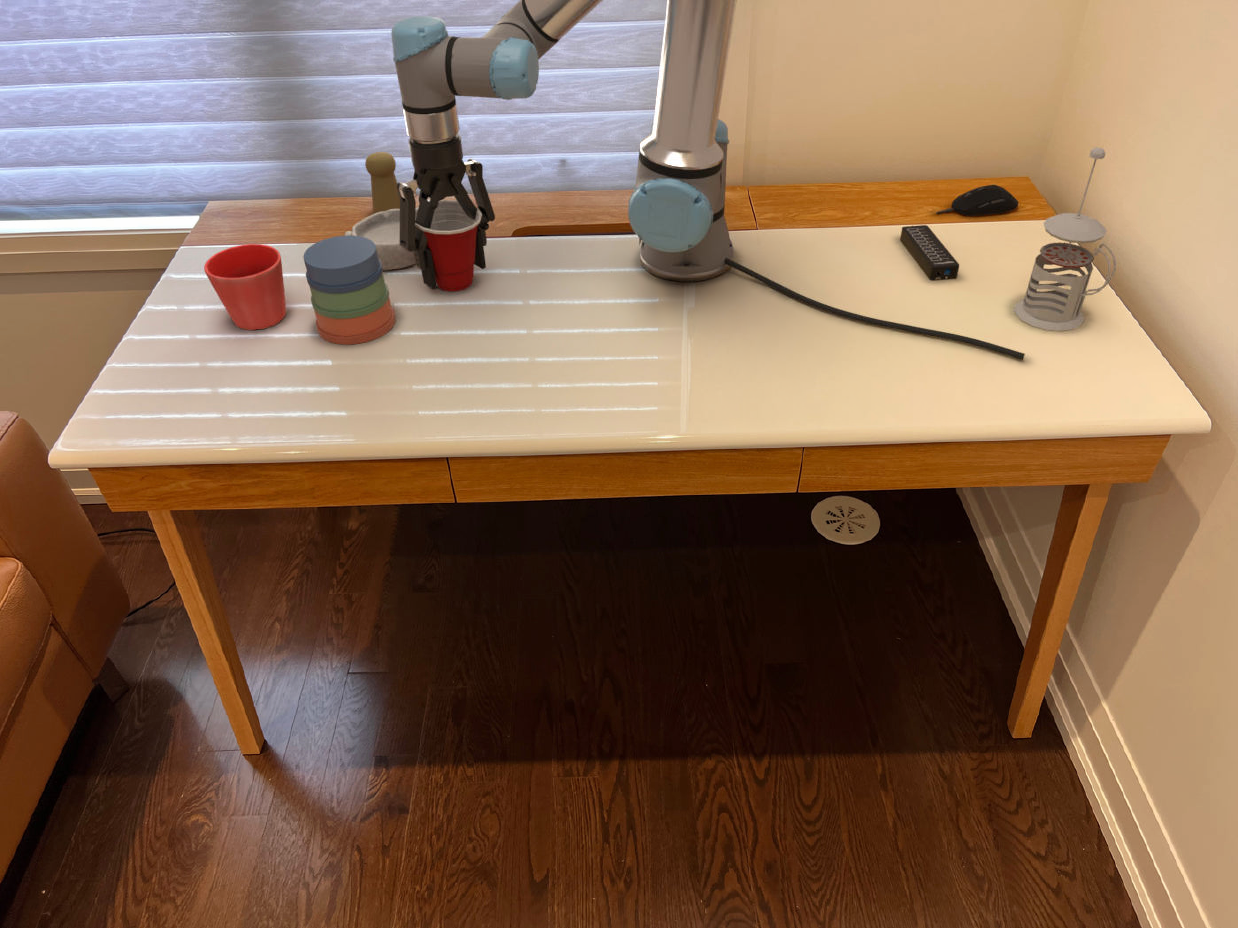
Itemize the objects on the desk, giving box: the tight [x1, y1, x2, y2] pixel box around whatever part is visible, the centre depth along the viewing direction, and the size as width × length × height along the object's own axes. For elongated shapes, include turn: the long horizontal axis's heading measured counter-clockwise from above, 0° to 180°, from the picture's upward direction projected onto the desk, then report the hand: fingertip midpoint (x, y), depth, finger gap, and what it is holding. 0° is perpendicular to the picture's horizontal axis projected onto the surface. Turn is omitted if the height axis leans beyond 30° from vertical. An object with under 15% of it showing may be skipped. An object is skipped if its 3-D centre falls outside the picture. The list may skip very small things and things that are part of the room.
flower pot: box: [203, 243, 287, 331], centre depth 142 cm, size 11×11×10 cm
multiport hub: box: [899, 224, 960, 281], centre depth 154 cm, size 4×14×2 cm, turn 6°
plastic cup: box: [415, 199, 482, 292], centre depth 148 cm, size 11×11×12 cm
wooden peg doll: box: [364, 151, 400, 215], centre depth 169 cm, size 6×6×11 cm
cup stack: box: [303, 235, 397, 345], centre depth 139 cm, size 12×12×12 cm
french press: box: [1013, 146, 1117, 332], centre depth 132 cm, size 10×12×25 cm
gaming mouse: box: [936, 184, 1019, 217], centre depth 166 cm, size 6×15×4 cm, turn 101°
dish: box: [344, 209, 416, 271], centre depth 159 cm, size 14×14×5 cm
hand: (455, 275), depth 151 cm, fingers closed on plastic cup, 9 cm apart
